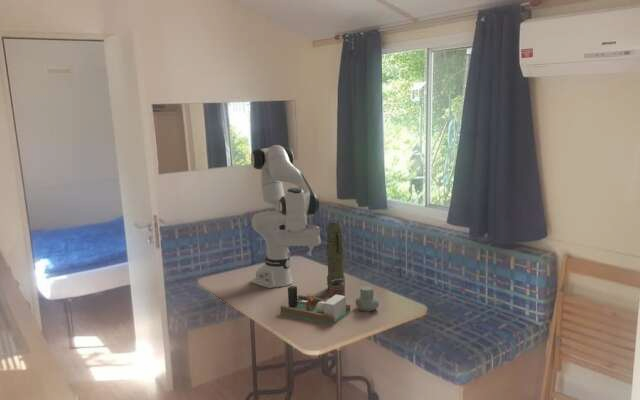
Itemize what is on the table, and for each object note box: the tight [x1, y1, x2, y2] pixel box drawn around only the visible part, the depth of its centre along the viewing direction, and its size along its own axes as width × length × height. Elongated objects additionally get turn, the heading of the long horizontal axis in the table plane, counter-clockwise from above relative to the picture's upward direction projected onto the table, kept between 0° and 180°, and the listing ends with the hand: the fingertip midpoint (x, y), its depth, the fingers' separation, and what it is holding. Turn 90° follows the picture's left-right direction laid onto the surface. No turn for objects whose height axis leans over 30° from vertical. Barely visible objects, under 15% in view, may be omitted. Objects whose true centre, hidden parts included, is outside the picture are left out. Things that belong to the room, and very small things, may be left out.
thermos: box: [325, 220, 346, 292], centre depth 257 cm, size 9×12×35 cm
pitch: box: [280, 294, 351, 326], centre depth 230 cm, size 27×16×8 cm, turn 60°
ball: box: [316, 301, 324, 313], centre depth 229 cm, size 5×5×5 cm
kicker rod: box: [287, 285, 316, 311], centre depth 234 cm, size 12×5×9 cm, turn 60°
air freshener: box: [355, 285, 380, 312], centre depth 233 cm, size 11×8×10 cm
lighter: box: [328, 279, 346, 300], centre depth 246 cm, size 8×3×10 cm, turn 105°
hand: (299, 255), depth 228 cm, fingers open, 8 cm apart
